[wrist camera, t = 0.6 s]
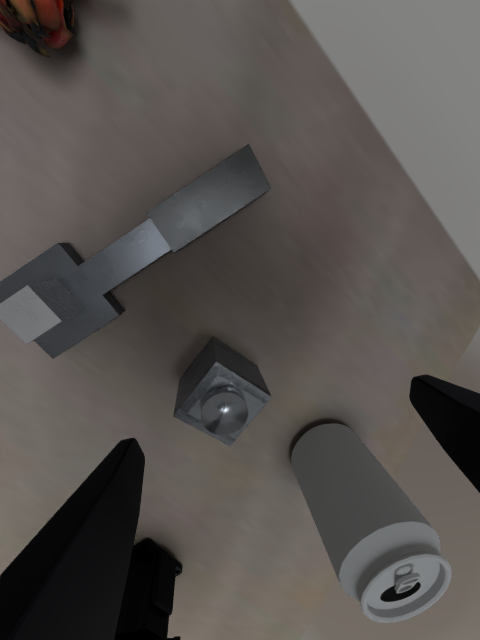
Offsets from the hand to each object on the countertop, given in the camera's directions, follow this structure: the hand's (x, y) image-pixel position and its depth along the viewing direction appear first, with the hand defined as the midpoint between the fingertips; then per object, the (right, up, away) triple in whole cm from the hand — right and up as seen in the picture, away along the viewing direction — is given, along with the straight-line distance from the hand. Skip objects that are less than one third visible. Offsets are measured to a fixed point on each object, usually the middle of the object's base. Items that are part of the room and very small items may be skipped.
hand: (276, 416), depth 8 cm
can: (+8, -11, +19) cm, 23 cm away
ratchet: (-9, +8, +11) cm, 16 cm away
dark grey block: (-3, -2, +14) cm, 15 cm away
